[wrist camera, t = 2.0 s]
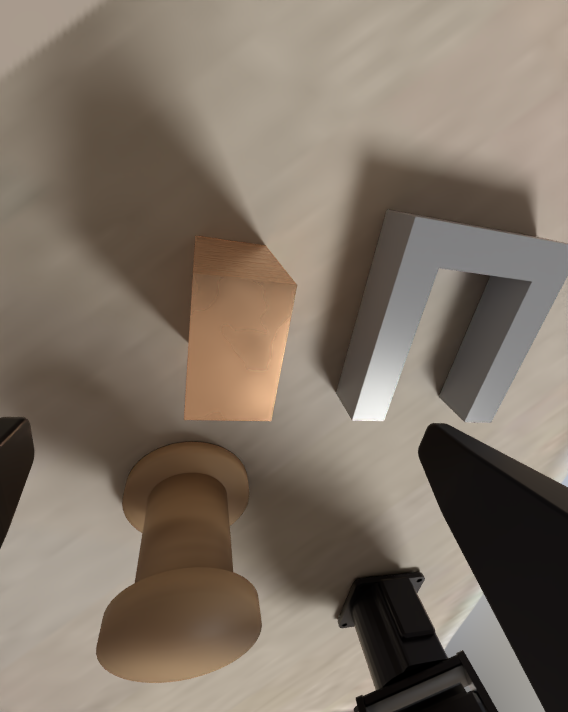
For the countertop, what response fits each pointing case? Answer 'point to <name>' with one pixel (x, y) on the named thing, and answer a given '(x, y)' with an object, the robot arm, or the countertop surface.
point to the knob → (182, 570)
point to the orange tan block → (236, 331)
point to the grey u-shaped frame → (486, 330)
